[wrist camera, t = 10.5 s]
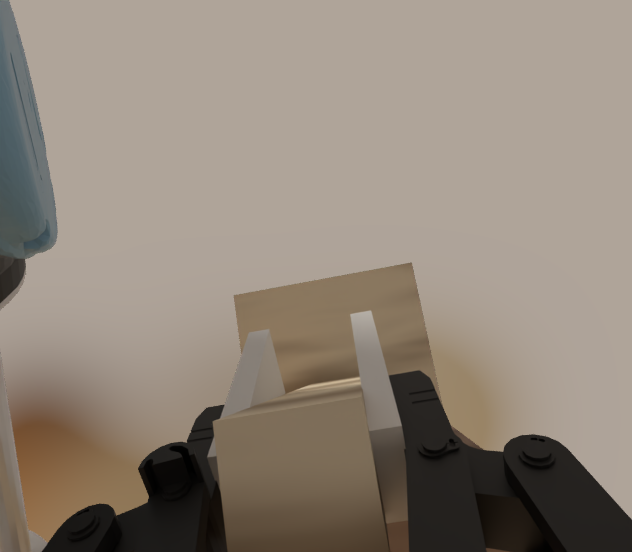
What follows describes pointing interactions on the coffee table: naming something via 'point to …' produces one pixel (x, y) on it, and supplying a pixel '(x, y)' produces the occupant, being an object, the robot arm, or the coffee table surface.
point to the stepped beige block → (316, 416)
